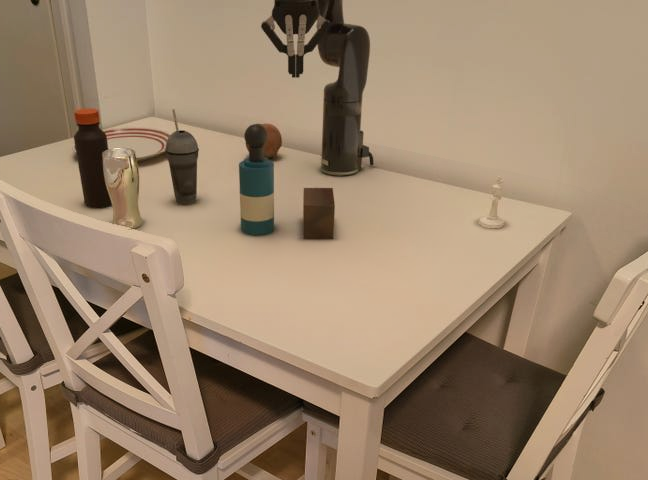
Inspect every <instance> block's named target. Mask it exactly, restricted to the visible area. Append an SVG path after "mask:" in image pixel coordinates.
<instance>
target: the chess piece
mask: <svg viewBox="0 0 648 480" xmlns="http://www.w3.org/2000/svg"><path fill="white" fill-rule="evenodd" d="M494 181H495V182H496V183H495V184H493V185H492V190H493V195H491V196H490V199H491V200H492V203H491V206H490V209H489V213H488V214H487V215H486V216H482V217H481V218H480V219H479V222H478V224H479V225H480V226H482V227H484V228H487V229H501V228H503V227H504V223H505V221H504V219H502V218H501V217H499V215H498V204H499V201H501V200H502V196H501V195H500V194H501V192H502V191H503V189H504V186H503V185H502V184H503V183H504V180H503V179H502V176H501V175H498V176H497V177H496V178H495V179H494Z"/></svg>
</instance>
